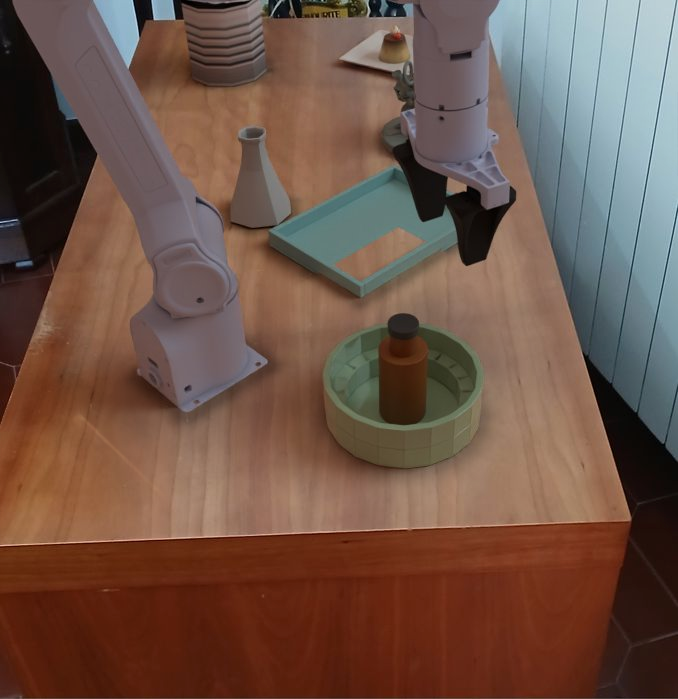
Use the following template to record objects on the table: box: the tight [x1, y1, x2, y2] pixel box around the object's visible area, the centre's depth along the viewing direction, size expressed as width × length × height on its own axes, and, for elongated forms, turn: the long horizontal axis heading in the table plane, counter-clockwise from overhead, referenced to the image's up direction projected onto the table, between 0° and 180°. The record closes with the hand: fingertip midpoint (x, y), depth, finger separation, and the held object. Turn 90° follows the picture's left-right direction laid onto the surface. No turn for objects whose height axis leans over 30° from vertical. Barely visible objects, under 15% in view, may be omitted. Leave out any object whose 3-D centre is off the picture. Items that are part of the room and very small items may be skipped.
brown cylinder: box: [378, 312, 428, 425], centre depth 76 cm, size 4×4×10 cm
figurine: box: [381, 61, 415, 154], centre depth 112 cm, size 11×11×12 cm
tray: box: [267, 164, 458, 299], centre depth 100 cm, size 19×14×2 cm
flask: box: [229, 125, 292, 229], centre depth 101 cm, size 7×7×10 cm
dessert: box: [338, 25, 414, 77], centre depth 133 cm, size 12×12×5 cm
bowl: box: [322, 322, 485, 469], centre depth 78 cm, size 13×13×5 cm
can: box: [180, 0, 268, 88], centre depth 130 cm, size 11×11×12 cm
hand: (452, 238), depth 81 cm, fingers open, 7 cm apart
